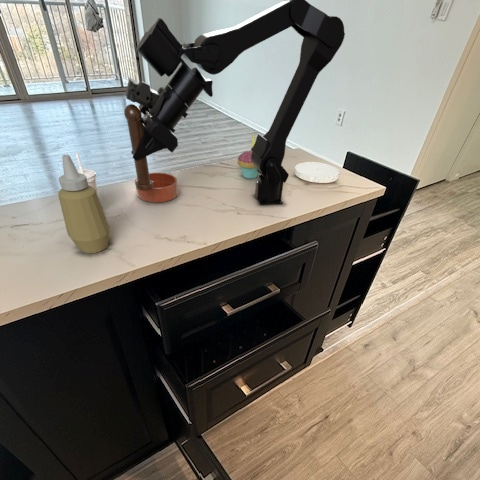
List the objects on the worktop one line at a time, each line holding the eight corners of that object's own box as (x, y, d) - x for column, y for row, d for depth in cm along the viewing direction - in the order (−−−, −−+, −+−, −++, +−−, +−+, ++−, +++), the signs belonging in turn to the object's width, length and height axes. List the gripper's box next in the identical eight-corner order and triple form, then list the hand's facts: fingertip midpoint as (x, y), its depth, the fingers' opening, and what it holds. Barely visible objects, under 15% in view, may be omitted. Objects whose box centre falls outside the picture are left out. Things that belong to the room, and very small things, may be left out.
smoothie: (97, 222, 75) (79, 159, 65) (72, 218, 76) (51, 155, 66) (111, 210, 79) (95, 149, 70) (87, 207, 80) (69, 146, 70)
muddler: (156, 185, 77) (144, 103, 65) (149, 191, 74) (136, 107, 62) (140, 183, 77) (126, 101, 66) (133, 189, 75) (117, 105, 63)
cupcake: (239, 169, 104) (241, 128, 96) (264, 172, 104) (269, 131, 95) (235, 179, 98) (237, 136, 90) (262, 182, 98) (266, 139, 89)
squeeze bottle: (79, 236, 70) (49, 147, 57) (117, 236, 71) (95, 149, 58) (68, 257, 64) (32, 163, 52) (109, 257, 65) (83, 164, 52)
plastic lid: (312, 189, 96) (314, 180, 94) (285, 173, 104) (286, 165, 102) (346, 182, 101) (348, 173, 99) (318, 167, 109) (319, 159, 108)
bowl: (177, 186, 92) (175, 172, 89) (179, 202, 85) (178, 187, 82) (138, 187, 90) (135, 173, 87) (137, 204, 83) (134, 189, 80)
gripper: (140, 55, 66) (98, 117, 71) (152, 67, 54) (100, 142, 59) (181, 99, 74) (140, 153, 79) (199, 119, 62) (150, 181, 66)
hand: (133, 156), depth 71 cm, fingers closed on muddler, 3 cm apart
